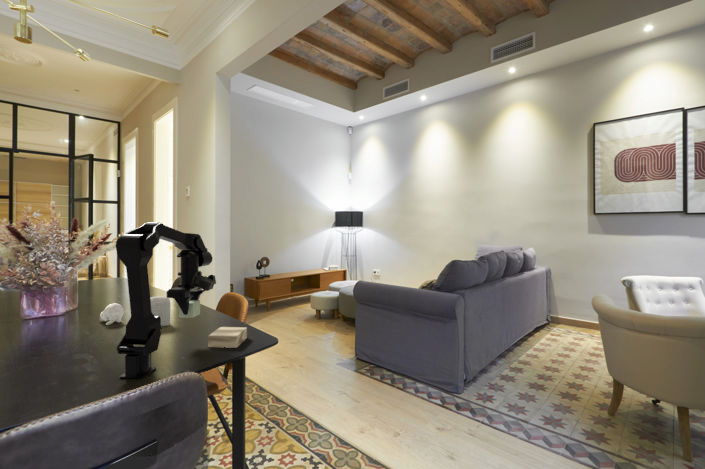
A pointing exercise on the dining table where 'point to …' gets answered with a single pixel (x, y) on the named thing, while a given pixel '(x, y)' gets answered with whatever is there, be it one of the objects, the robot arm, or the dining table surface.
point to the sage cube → (191, 309)
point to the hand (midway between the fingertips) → (189, 312)
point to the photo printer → (161, 309)
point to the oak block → (227, 337)
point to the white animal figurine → (112, 313)
